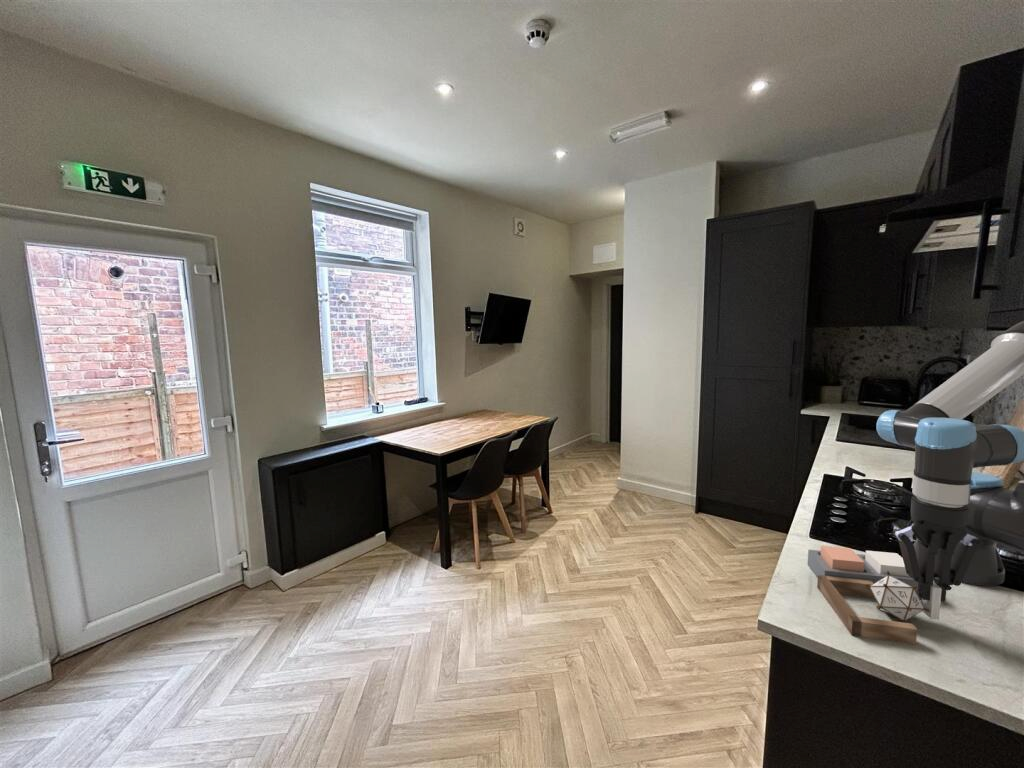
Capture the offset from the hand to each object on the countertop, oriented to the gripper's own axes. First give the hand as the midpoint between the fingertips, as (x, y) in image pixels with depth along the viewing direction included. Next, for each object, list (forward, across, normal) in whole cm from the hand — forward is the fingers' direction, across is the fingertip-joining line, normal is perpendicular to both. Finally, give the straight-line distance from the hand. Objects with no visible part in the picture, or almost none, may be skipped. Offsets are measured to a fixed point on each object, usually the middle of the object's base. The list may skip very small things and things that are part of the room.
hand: (929, 614), depth 80 cm
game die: (+2, +5, -1) cm, 5 cm away
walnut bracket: (+2, +11, -1) cm, 11 cm away
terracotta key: (-1, +9, -13) cm, 16 cm away
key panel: (+2, +5, -13) cm, 14 cm away
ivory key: (-1, 0, -13) cm, 13 cm away
